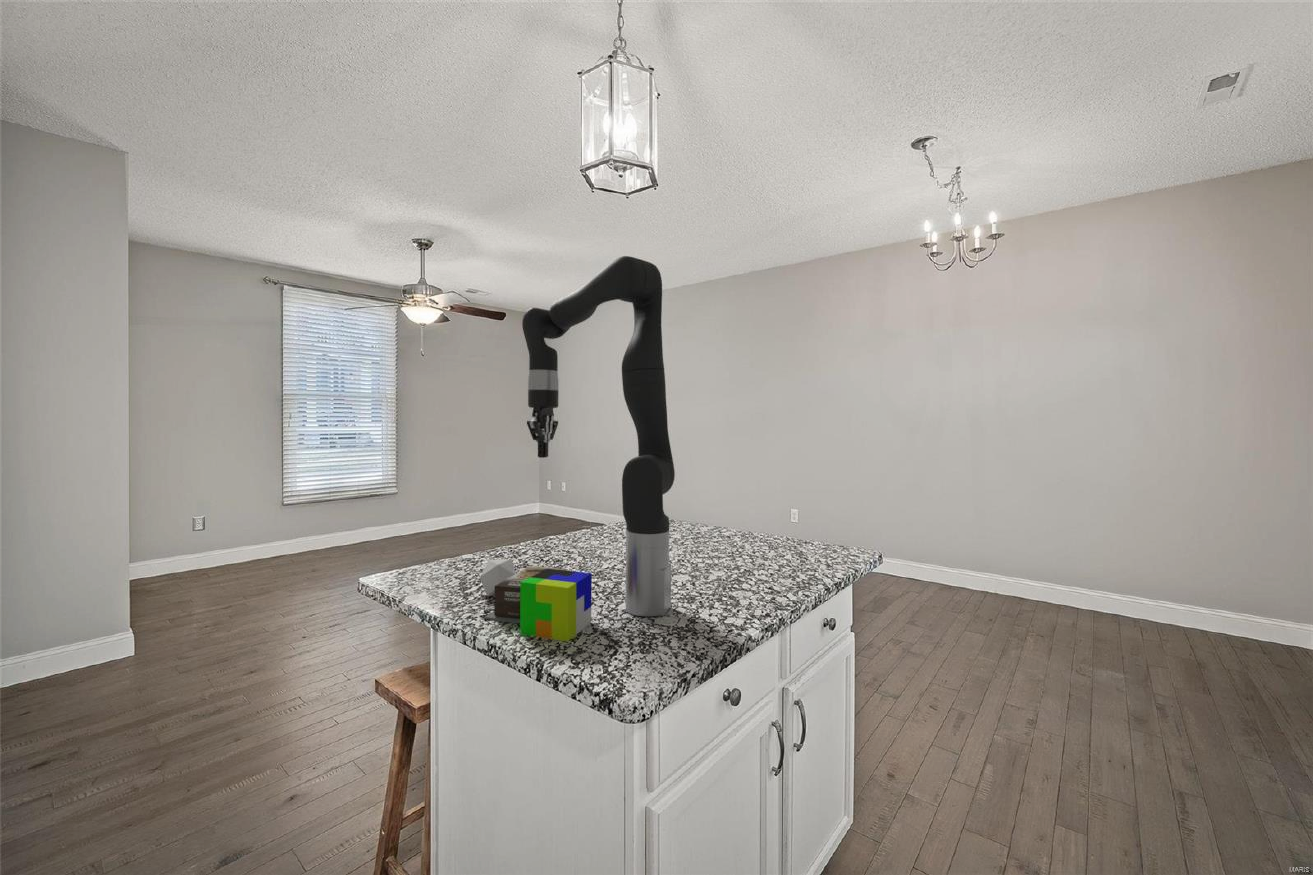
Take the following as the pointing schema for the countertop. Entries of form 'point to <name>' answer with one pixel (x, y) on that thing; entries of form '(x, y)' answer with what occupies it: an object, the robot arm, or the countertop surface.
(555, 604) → the puzzle toy
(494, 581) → the die
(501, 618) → the mat
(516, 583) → the coffee box
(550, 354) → the robot arm
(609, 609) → the countertop surface
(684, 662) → the countertop surface
